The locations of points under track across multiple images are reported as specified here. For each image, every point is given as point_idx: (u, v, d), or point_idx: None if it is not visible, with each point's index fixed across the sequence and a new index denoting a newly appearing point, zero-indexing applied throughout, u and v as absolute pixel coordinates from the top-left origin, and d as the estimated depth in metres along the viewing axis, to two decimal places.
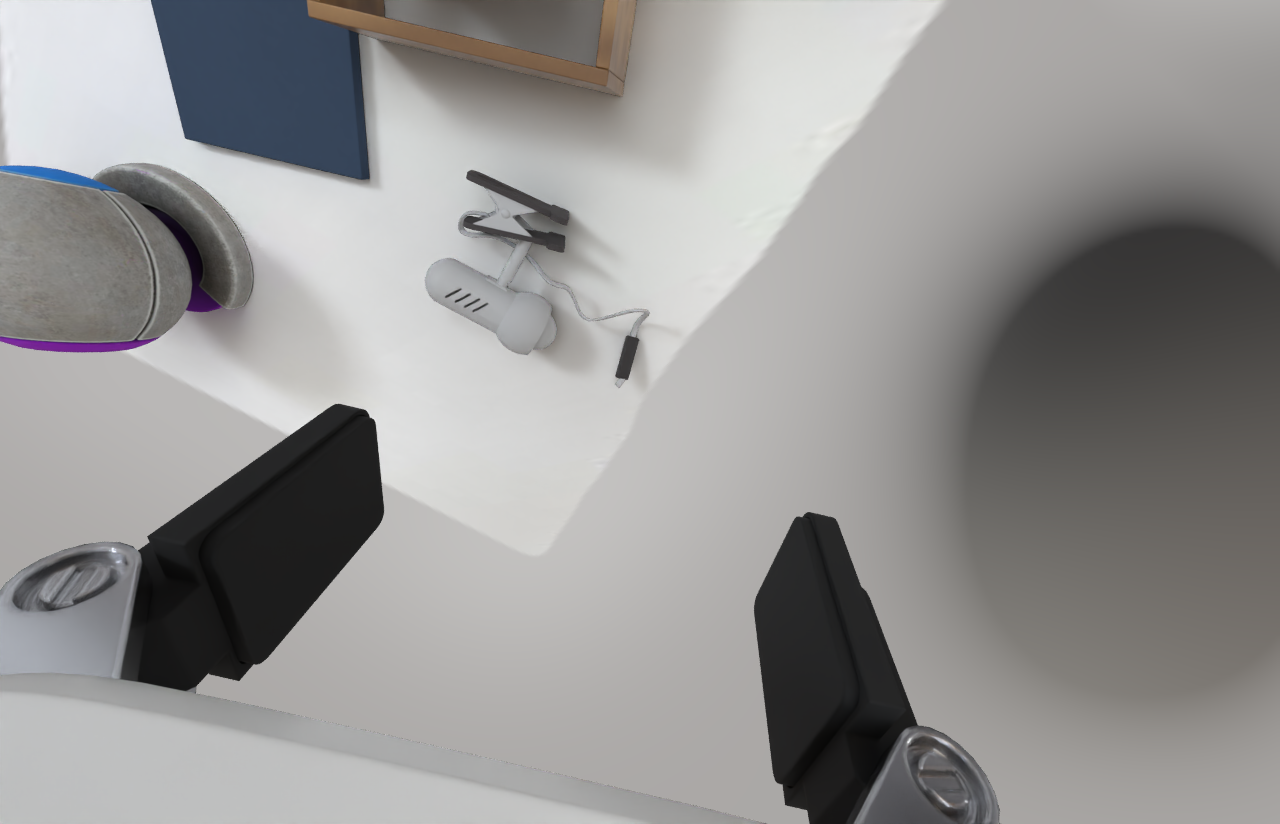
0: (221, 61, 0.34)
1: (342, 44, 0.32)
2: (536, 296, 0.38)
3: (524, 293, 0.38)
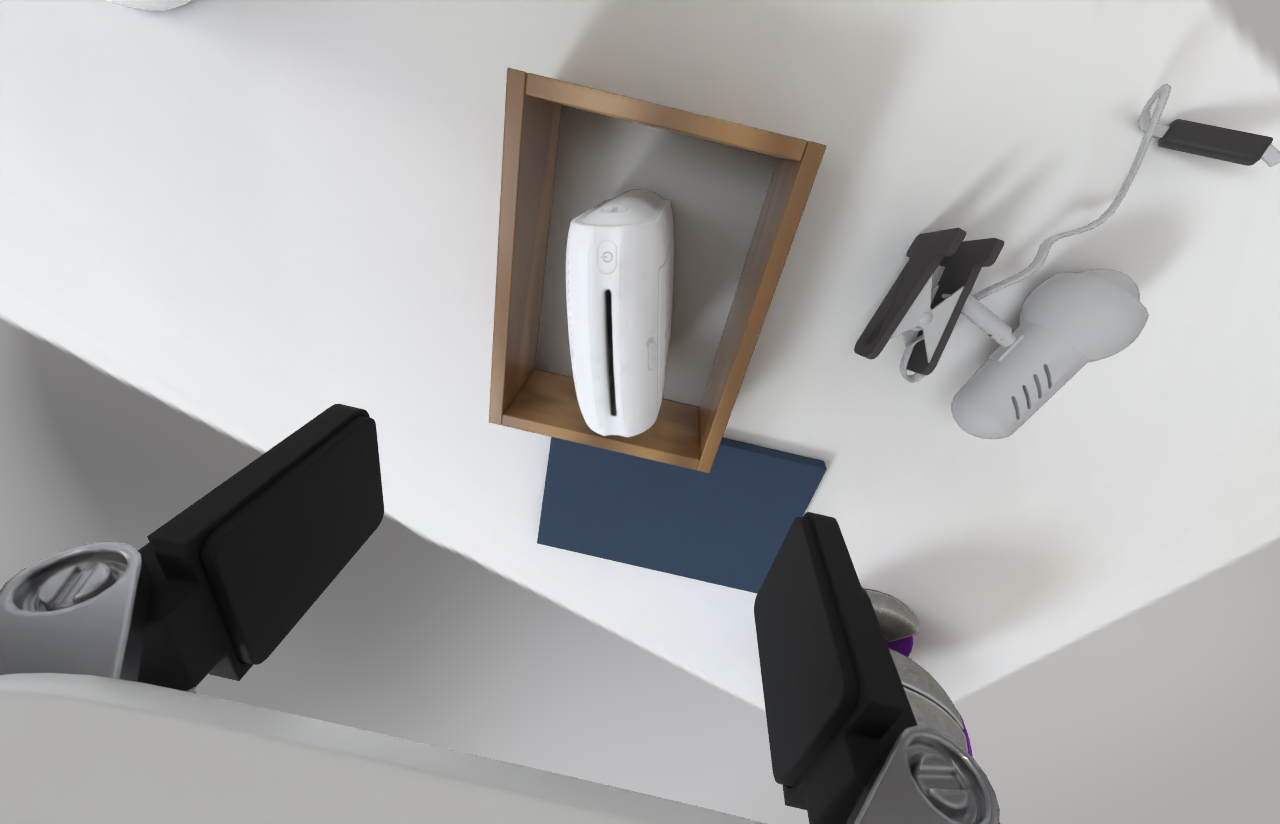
0: (712, 545, 0.39)
1: None
2: (1042, 293, 0.25)
3: (1031, 311, 0.26)
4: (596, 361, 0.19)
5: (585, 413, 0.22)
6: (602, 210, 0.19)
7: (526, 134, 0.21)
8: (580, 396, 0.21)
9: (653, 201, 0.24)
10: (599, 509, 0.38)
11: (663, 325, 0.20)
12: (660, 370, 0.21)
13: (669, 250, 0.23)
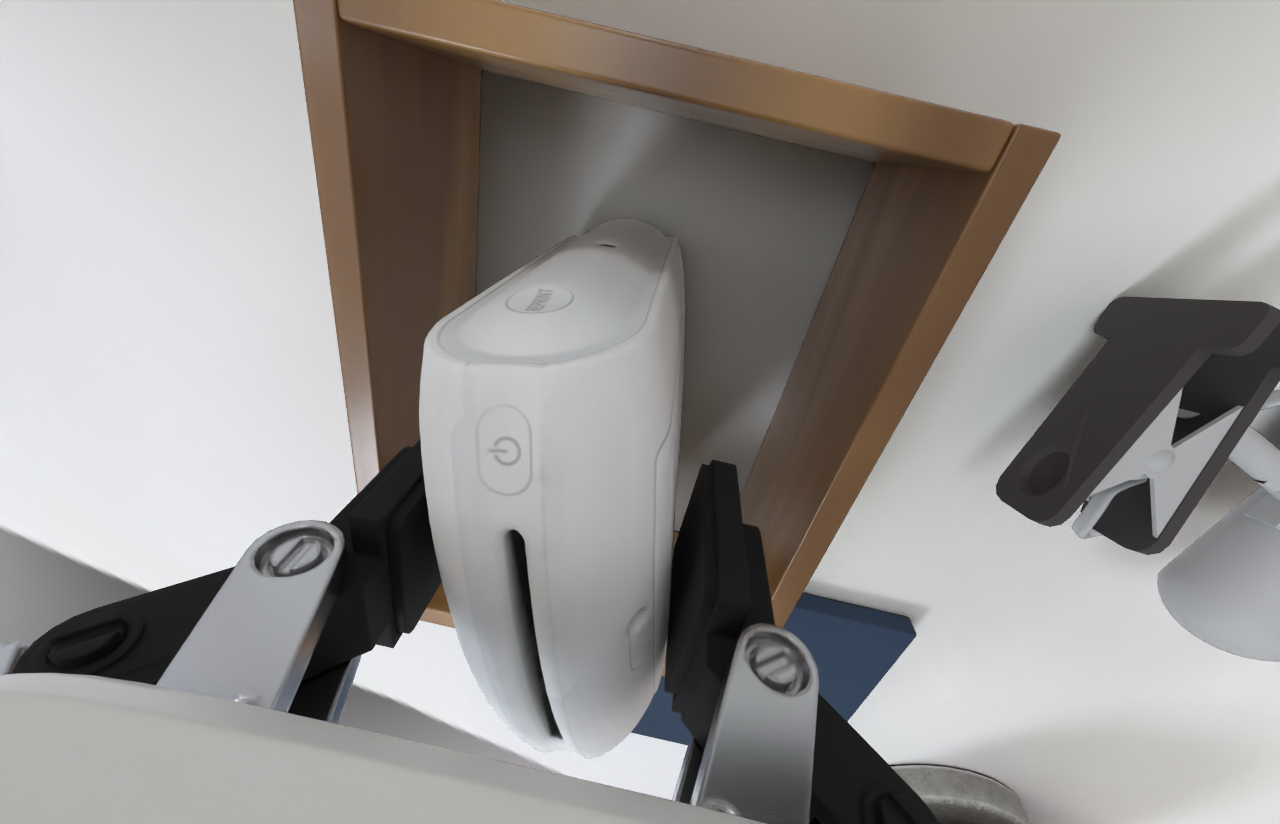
0: None
1: None
2: None
3: None
4: (498, 679, 0.08)
5: None
6: (507, 303, 0.07)
7: (365, 115, 0.10)
8: None
9: (647, 248, 0.12)
10: None
11: (667, 561, 0.08)
12: (660, 643, 0.09)
13: (678, 348, 0.12)
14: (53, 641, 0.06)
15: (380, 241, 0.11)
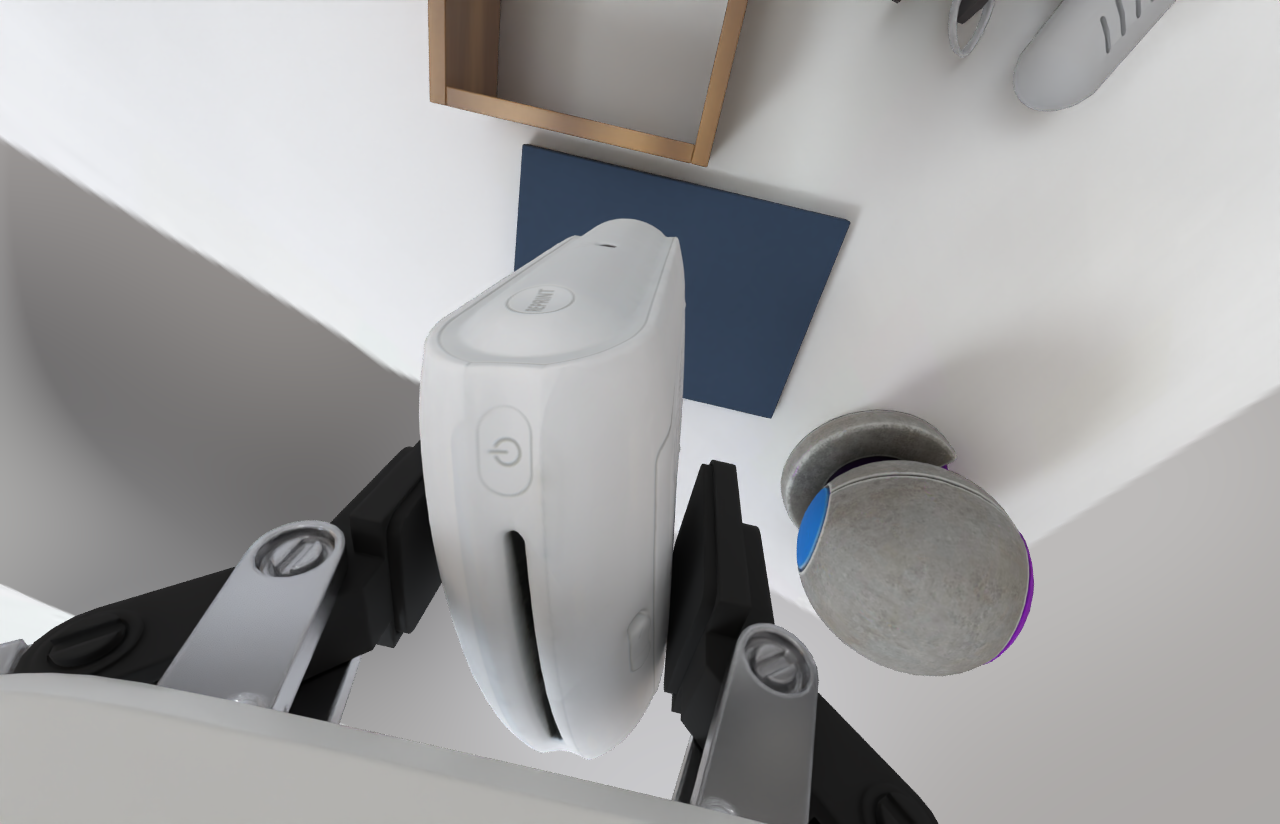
0: (712, 348, 0.33)
1: (710, 199, 0.28)
2: None
3: None
4: (498, 679, 0.08)
5: None
6: (508, 304, 0.07)
7: None
8: None
9: (647, 248, 0.12)
10: None
11: (667, 562, 0.08)
12: (660, 644, 0.09)
13: (679, 348, 0.12)
14: (54, 641, 0.06)
15: None
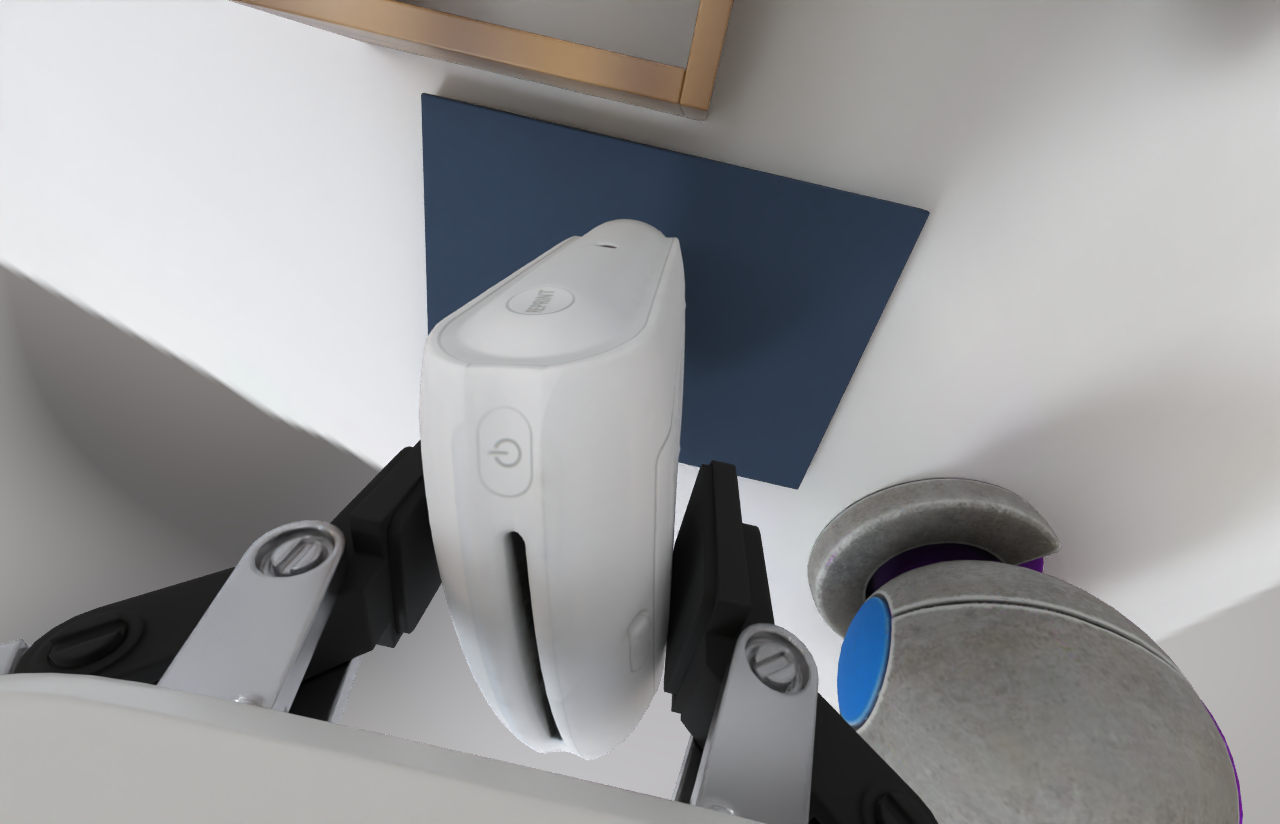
0: (715, 395, 0.23)
1: (713, 177, 0.18)
2: None
3: None
4: (498, 680, 0.08)
5: None
6: (508, 305, 0.07)
7: None
8: None
9: (648, 249, 0.12)
10: None
11: (667, 562, 0.08)
12: (660, 645, 0.09)
13: (679, 349, 0.12)
14: (54, 641, 0.06)
15: None
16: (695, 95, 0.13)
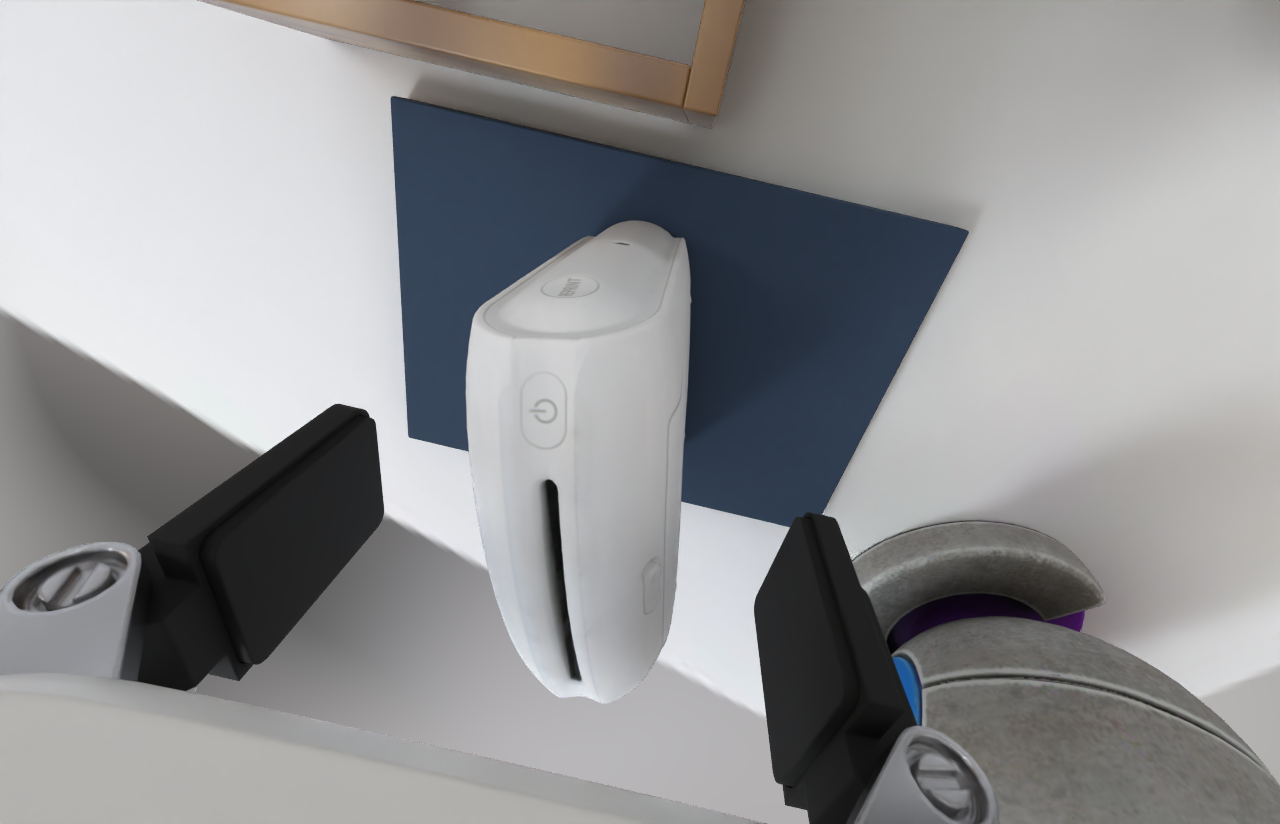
0: (722, 431, 0.21)
1: (721, 191, 0.16)
2: None
3: None
4: (530, 615, 0.09)
5: None
6: (543, 290, 0.08)
7: None
8: (511, 638, 0.11)
9: (657, 247, 0.14)
10: None
11: (676, 518, 0.10)
12: (669, 595, 0.10)
13: (686, 337, 0.13)
14: None
15: None
16: (702, 97, 0.10)
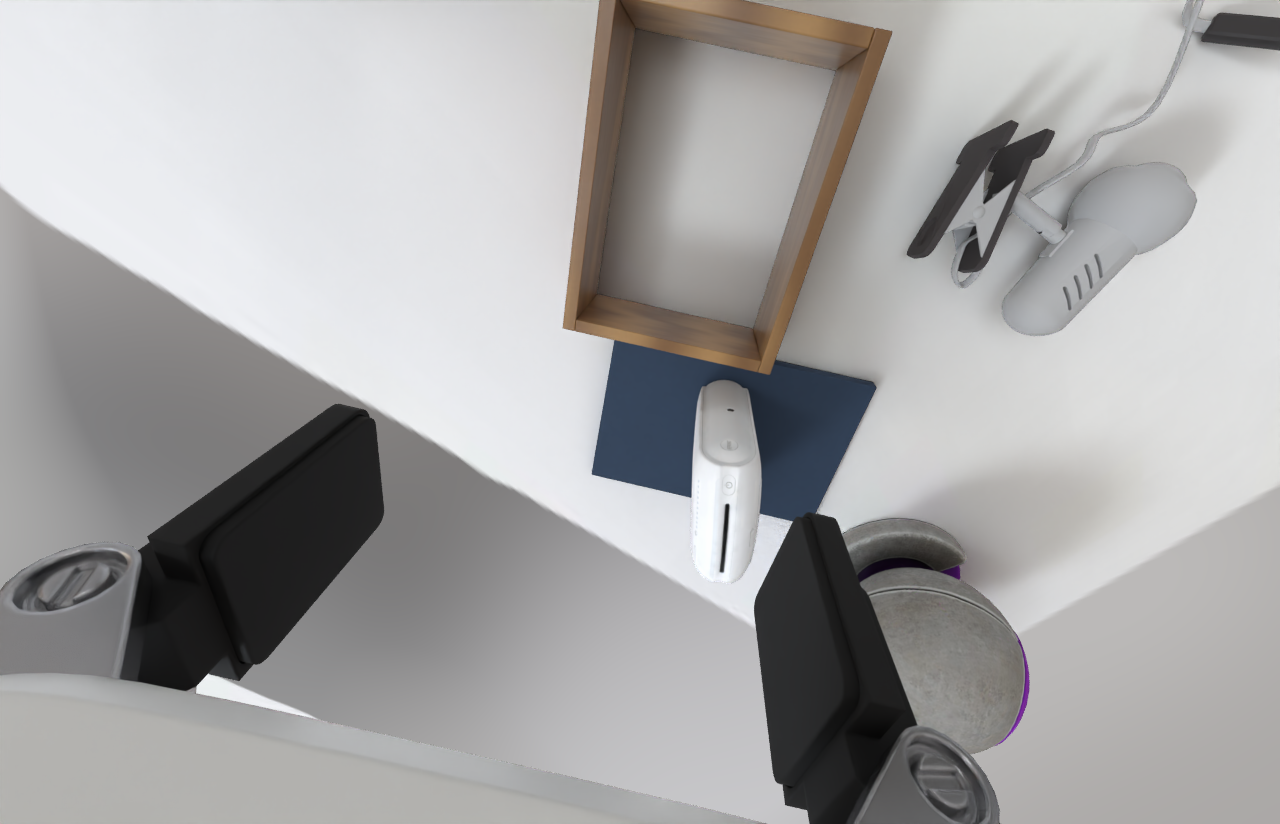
0: (761, 472, 0.40)
1: None
2: (1090, 189, 0.27)
3: (1080, 207, 0.27)
4: (715, 545, 0.28)
5: (699, 567, 0.31)
6: (721, 446, 0.28)
7: (614, 36, 0.23)
8: (698, 558, 0.30)
9: (741, 405, 0.33)
10: (653, 436, 0.40)
11: None
12: (754, 542, 0.30)
13: None
14: None
15: (607, 97, 0.25)
16: (765, 370, 0.30)
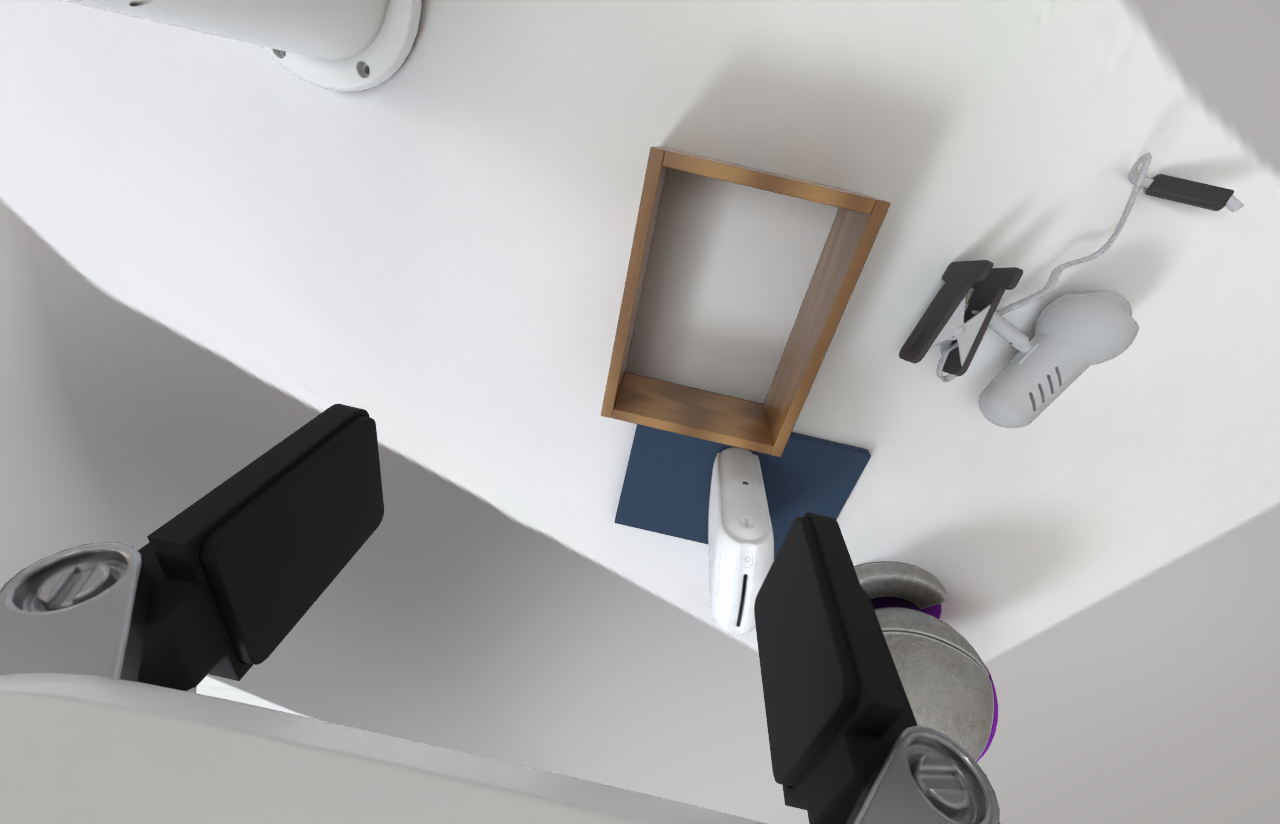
0: None
1: None
2: (1053, 310, 0.32)
3: (1045, 323, 0.32)
4: (734, 606, 0.33)
5: (718, 621, 0.36)
6: (740, 523, 0.33)
7: (656, 192, 0.28)
8: (717, 614, 0.35)
9: (754, 475, 0.38)
10: (672, 492, 0.44)
11: None
12: None
13: None
14: None
15: (648, 237, 0.29)
16: (776, 453, 0.35)
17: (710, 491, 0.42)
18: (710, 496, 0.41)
